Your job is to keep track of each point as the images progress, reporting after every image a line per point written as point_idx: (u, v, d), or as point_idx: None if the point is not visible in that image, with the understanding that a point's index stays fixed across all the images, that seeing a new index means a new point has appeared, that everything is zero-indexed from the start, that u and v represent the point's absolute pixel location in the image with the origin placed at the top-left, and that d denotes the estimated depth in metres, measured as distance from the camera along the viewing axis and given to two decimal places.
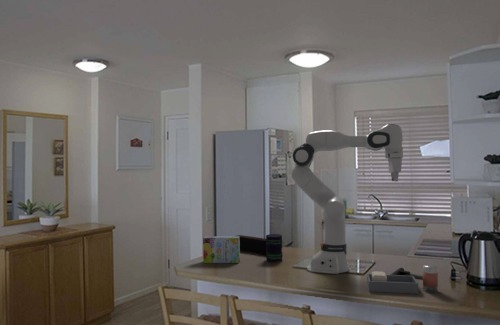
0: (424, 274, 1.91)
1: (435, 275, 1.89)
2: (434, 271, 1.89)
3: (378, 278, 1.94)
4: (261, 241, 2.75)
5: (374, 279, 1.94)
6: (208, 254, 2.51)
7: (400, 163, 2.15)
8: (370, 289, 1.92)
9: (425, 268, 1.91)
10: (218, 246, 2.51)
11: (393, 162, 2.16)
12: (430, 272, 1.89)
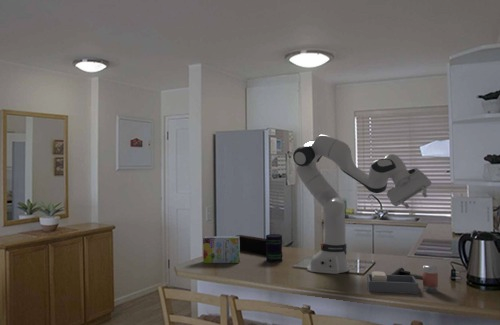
0: (424, 274, 1.91)
1: (435, 275, 1.89)
2: (434, 271, 1.89)
3: (378, 278, 1.94)
4: (261, 241, 2.75)
5: (374, 279, 1.94)
6: (208, 254, 2.51)
7: None
8: (370, 289, 1.92)
9: (425, 268, 1.91)
10: (218, 246, 2.51)
11: (423, 173, 1.99)
12: (430, 272, 1.89)
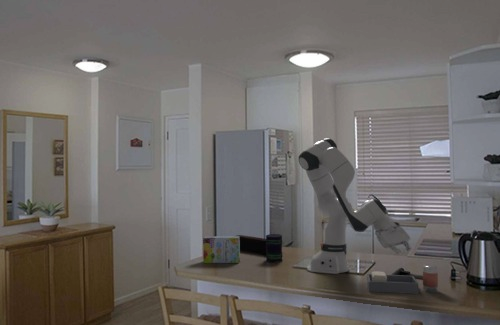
0: (424, 274, 1.91)
1: (435, 275, 1.89)
2: (434, 271, 1.89)
3: (378, 278, 1.94)
4: (261, 241, 2.75)
5: (374, 279, 1.94)
6: (208, 254, 2.51)
7: None
8: (370, 289, 1.92)
9: (425, 268, 1.91)
10: (218, 246, 2.51)
11: None
12: (430, 272, 1.89)
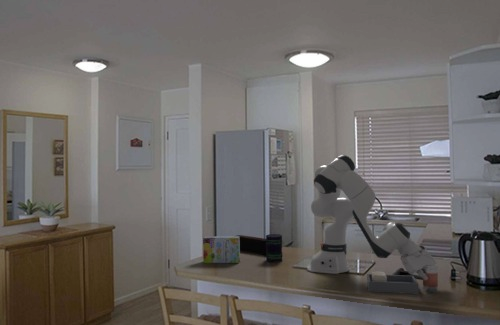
0: None
1: (435, 275, 1.89)
2: (434, 271, 1.89)
3: (378, 278, 1.94)
4: (261, 241, 2.75)
5: (374, 279, 1.94)
6: (208, 254, 2.51)
7: None
8: (370, 289, 1.92)
9: (425, 268, 1.91)
10: (218, 246, 2.51)
11: None
12: (430, 272, 1.89)
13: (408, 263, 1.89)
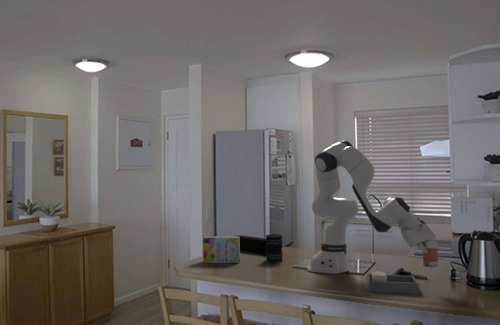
0: None
1: (435, 250, 1.90)
2: (434, 246, 1.89)
3: (378, 278, 1.94)
4: (261, 241, 2.75)
5: (374, 279, 1.94)
6: (208, 254, 2.51)
7: None
8: (370, 289, 1.92)
9: (425, 243, 1.91)
10: (218, 246, 2.51)
11: None
12: (430, 247, 1.90)
13: (408, 236, 1.90)
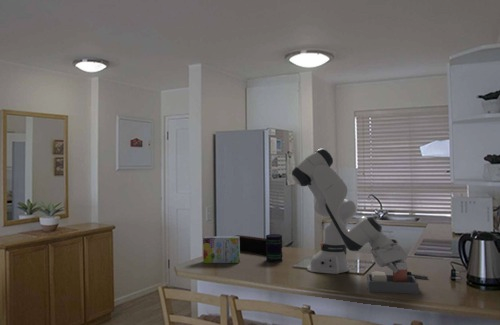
0: None
1: (404, 271, 1.92)
2: (403, 267, 1.92)
3: (378, 278, 1.94)
4: (261, 241, 2.75)
5: (374, 279, 1.94)
6: (208, 254, 2.51)
7: None
8: (370, 289, 1.92)
9: (395, 264, 1.94)
10: (218, 246, 2.51)
11: None
12: (399, 268, 1.92)
13: (378, 256, 1.93)
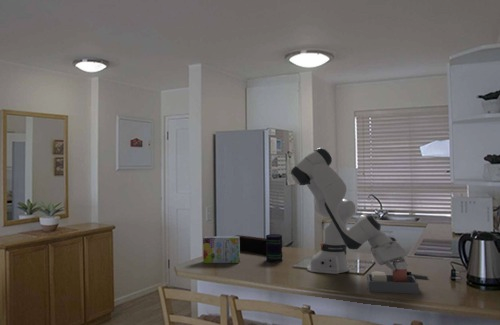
0: None
1: (404, 271, 1.92)
2: (403, 267, 1.92)
3: (378, 278, 1.94)
4: (261, 241, 2.75)
5: (374, 279, 1.94)
6: (208, 254, 2.51)
7: None
8: (370, 289, 1.92)
9: (394, 264, 1.94)
10: (218, 246, 2.51)
11: None
12: (399, 268, 1.93)
13: (377, 254, 1.94)
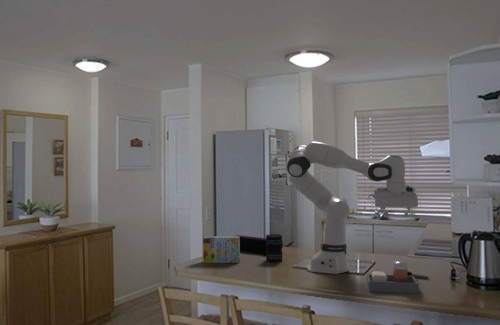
0: (394, 270, 1.94)
1: (405, 271, 1.92)
2: (404, 267, 1.92)
3: (378, 278, 1.94)
4: (262, 241, 2.75)
5: (374, 279, 1.94)
6: (208, 254, 2.51)
7: None
8: (370, 289, 1.92)
9: (396, 264, 1.93)
10: (218, 246, 2.51)
11: None
12: (400, 268, 1.92)
13: (375, 198, 2.13)
